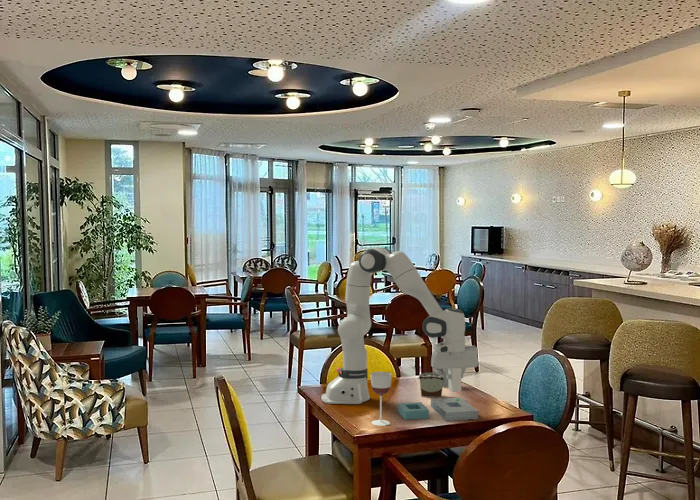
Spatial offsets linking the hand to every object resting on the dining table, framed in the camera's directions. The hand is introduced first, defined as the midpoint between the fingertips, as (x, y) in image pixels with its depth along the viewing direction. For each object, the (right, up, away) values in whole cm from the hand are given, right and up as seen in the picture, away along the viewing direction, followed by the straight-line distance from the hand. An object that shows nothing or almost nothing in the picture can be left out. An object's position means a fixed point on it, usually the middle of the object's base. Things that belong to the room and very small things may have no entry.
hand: (454, 378), depth 266 cm
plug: (0, -5, 0) cm, 5 cm away
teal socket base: (-18, -15, -3) cm, 24 cm away
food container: (-6, -14, +28) cm, 32 cm away
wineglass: (-32, -16, -13) cm, 38 cm away
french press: (+1, -13, +46) cm, 48 cm away
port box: (0, -15, +1) cm, 15 cm away
